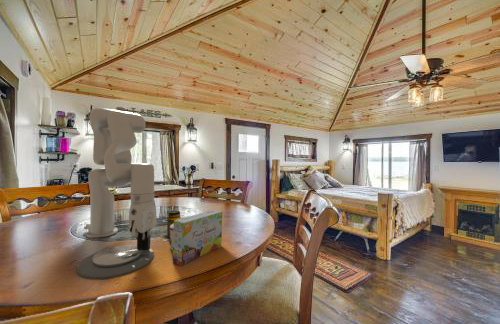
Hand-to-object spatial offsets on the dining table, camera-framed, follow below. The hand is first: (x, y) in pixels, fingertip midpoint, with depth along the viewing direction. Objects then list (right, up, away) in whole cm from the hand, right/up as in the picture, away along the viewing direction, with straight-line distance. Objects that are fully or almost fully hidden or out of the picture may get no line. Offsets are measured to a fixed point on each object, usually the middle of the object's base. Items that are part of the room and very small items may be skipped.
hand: (142, 249), depth 77 cm
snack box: (+19, -5, +7) cm, 20 cm away
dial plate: (-9, -4, 0) cm, 10 cm away
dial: (-7, -3, +1) cm, 8 cm away
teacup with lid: (+9, -4, +11) cm, 15 cm away
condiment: (+2, -4, +24) cm, 25 cm away
